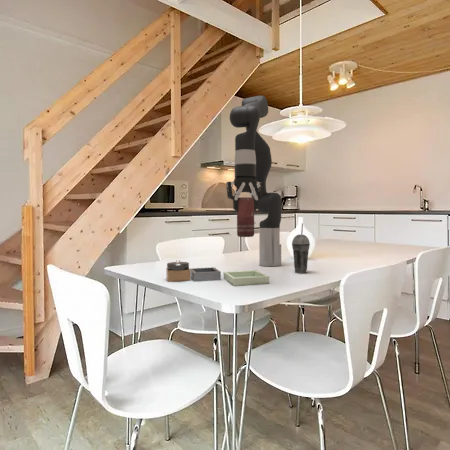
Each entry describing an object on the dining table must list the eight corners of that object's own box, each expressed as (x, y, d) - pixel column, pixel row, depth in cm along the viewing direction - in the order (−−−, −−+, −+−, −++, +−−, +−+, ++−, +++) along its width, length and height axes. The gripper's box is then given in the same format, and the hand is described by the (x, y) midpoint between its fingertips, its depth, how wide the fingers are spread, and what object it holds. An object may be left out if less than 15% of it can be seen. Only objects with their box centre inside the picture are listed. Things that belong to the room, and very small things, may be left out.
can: (244, 235, 133) (244, 197, 132) (257, 236, 128) (257, 197, 127) (233, 236, 128) (232, 197, 128) (246, 237, 124) (246, 196, 123)
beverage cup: (288, 272, 146) (288, 223, 145) (297, 270, 151) (297, 222, 150) (303, 274, 141) (304, 224, 140) (313, 272, 146) (313, 223, 145)
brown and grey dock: (214, 274, 141) (214, 257, 141) (220, 279, 132) (220, 260, 131) (165, 277, 136) (165, 259, 136) (168, 282, 127) (168, 263, 126)
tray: (256, 276, 137) (256, 270, 137) (269, 283, 124) (269, 276, 124) (223, 278, 134) (223, 272, 133) (233, 286, 121) (233, 278, 121)
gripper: (260, 165, 133) (260, 210, 133) (222, 164, 129) (223, 211, 130) (268, 163, 125) (268, 210, 126) (228, 162, 122) (228, 211, 122)
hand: (245, 210), depth 128 cm, fingers closed on can, 6 cm apart
